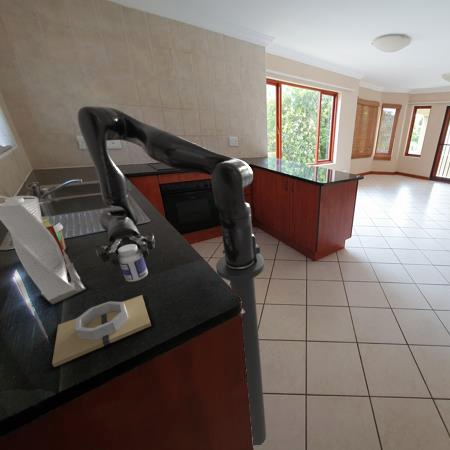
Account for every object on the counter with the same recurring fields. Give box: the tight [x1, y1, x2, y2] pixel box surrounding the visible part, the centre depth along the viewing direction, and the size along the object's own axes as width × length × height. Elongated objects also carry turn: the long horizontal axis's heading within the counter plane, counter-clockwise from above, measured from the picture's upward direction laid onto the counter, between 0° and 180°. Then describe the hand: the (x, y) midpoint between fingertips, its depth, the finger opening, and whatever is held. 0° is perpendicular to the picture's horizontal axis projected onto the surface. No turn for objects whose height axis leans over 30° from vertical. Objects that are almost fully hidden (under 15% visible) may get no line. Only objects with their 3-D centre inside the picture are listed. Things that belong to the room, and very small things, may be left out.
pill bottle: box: [118, 244, 149, 283], centre depth 62 cm, size 5×5×9 cm
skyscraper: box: [0, 195, 87, 305], centre depth 58 cm, size 8×8×28 cm
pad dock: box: [51, 294, 152, 368], centre depth 53 cm, size 16×12×4 cm
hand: (130, 257), depth 60 cm, fingers closed on pill bottle, 5 cm apart
